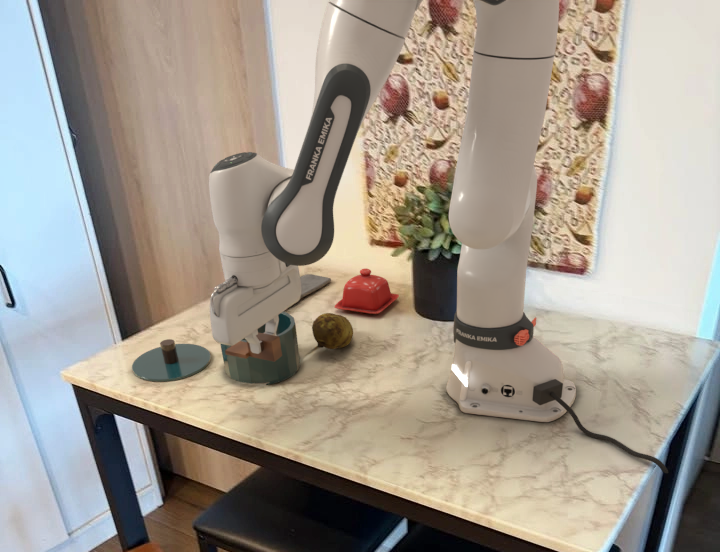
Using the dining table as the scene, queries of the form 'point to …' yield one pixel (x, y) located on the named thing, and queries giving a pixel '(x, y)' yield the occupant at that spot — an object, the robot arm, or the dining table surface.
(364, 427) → the dining table surface
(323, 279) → the cleaver
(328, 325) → the potato
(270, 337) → the brown stepped bar
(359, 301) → the butter dish
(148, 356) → the lid
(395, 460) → the dining table surface
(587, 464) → the dining table surface
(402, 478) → the dining table surface
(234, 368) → the pot
